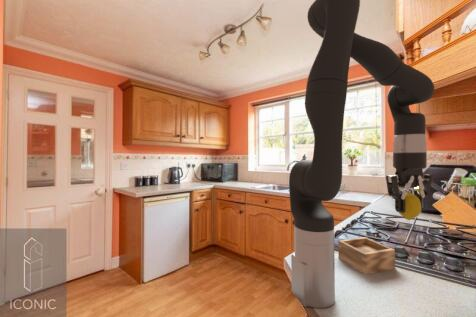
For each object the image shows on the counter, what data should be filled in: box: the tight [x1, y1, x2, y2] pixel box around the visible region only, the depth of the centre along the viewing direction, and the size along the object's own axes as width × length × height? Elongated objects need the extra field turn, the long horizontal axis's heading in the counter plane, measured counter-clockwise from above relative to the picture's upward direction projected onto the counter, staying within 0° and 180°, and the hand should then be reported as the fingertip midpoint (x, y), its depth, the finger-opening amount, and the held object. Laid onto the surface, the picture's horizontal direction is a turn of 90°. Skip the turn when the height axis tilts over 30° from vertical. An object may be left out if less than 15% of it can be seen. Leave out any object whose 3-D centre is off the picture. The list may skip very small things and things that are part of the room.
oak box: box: [337, 236, 396, 275], centre depth 72 cm, size 11×11×6 cm
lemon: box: [398, 191, 422, 221], centre depth 64 cm, size 6×6×8 cm
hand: (409, 211), depth 64 cm, fingers closed on lemon, 5 cm apart
